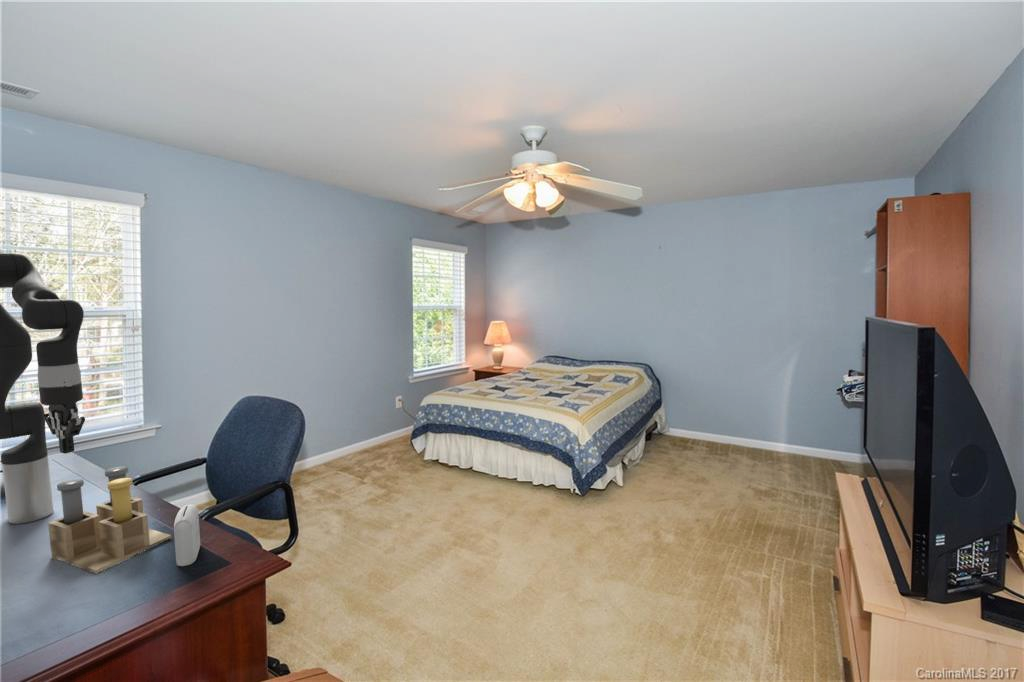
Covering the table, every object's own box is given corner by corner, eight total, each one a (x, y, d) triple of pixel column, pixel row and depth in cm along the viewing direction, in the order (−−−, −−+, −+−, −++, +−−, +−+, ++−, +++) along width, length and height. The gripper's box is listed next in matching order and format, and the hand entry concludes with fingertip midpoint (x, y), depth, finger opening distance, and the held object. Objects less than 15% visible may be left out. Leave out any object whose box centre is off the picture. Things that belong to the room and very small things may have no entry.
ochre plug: (106, 522, 118) (102, 483, 117) (127, 513, 122) (124, 476, 121) (118, 526, 116) (115, 487, 115) (139, 517, 121) (136, 479, 120)
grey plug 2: (103, 507, 127) (100, 471, 125) (124, 500, 131) (121, 465, 130) (115, 511, 125) (111, 474, 124) (135, 503, 129) (132, 467, 128)
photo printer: (182, 547, 123) (179, 501, 121) (202, 543, 125) (199, 498, 123) (174, 568, 114) (170, 519, 112) (195, 564, 115) (192, 516, 114)
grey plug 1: (56, 524, 117) (52, 485, 116) (80, 515, 122) (76, 477, 121) (68, 527, 116) (64, 488, 114) (91, 519, 120) (87, 480, 119)
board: (51, 557, 118) (48, 522, 117) (128, 525, 133) (125, 494, 132) (96, 574, 111) (92, 537, 110) (171, 538, 127) (168, 506, 126)
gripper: (24, 383, 113) (32, 453, 116) (56, 388, 109) (64, 461, 111) (63, 377, 120) (70, 444, 122) (95, 382, 116) (101, 451, 118)
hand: (67, 452), depth 117 cm, fingers closed
